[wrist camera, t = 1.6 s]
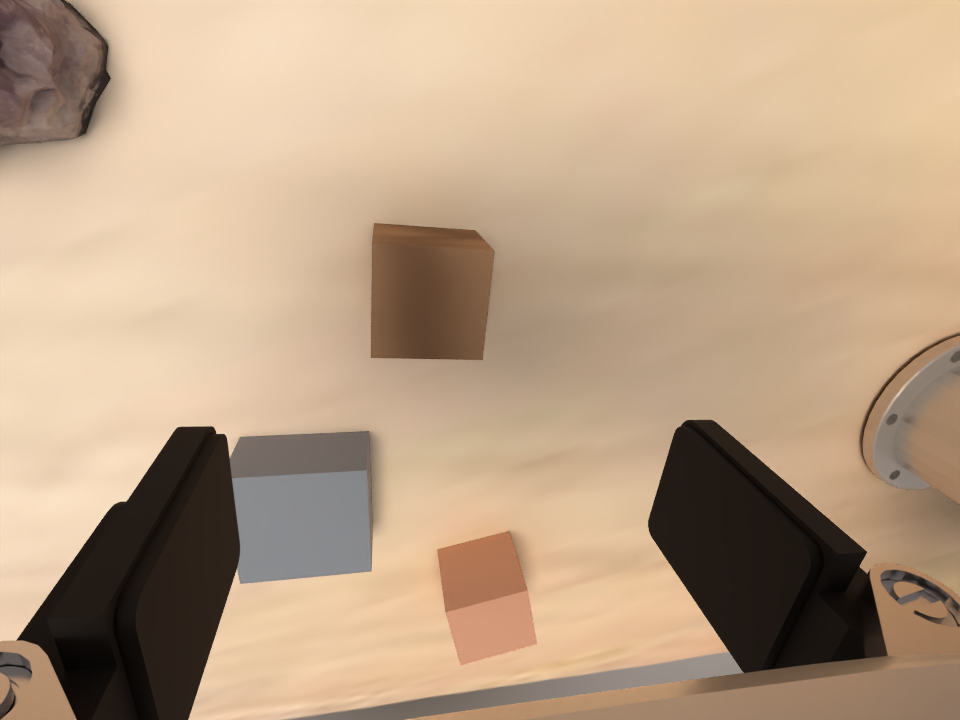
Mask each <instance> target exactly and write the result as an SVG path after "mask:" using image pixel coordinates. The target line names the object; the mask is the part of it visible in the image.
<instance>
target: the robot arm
mask: <svg viewBox="0 0 960 720" xmlns="http://www.w3.org/2000/svg"><path fill="white" fill-rule="evenodd" d="M863 455H864V458H865V461H866V464H867V466H868V467H869V469H870V470H871V471H872V472H873V474H875V475H876V476H877V477H879V478H880V479H882V480H883V481H884V482H886V483H887V484H889V485H892V486H894V487H896V488H901V489H906V490H915V489H925V488H930V487H933V488H935V489H936V490H938V491H940V492H941V493H943V494H944V495H946V496H947V497H949V498H950V499H952V500H954V501H955V502H957V503H958V504H960V336H957V337H954V338H951V339H948V340H946V341H944V342H942V343H940V344H938V345H936V346H934V347H932V348H930V349H929V350H927V351H926V352H924V353H923V354H921V355H920V356H918V357H917V358H916V359H914V360H913V361H912V362H911V363H910V364H908V365H907V366H906V367H905V368H904V369H903V370H902V371H900V372H899V373H898V375H897V376H896V377H895V378H894V379H893V380H892V381H891V382H890V383H889V385H888V386H887V387H886V388H885V390H884V391H883V393H882V394H881V396H880V397H879V398H878V400H877V401H876V403H875V405H874V407H873V409H872V411H871V413H870V415H869V418H868V421H867V424H866V427H865V430H864V436H863ZM648 527H649V532H650V535H651V537H652V538H653V540H654V541H655V543H656V544H657V546H658V547H659V549H660V550H661V552H662V553H663V555H664V556H665V558H666V559H667V560H668V562H669V563H670V565H671V566H672V568H673V569H674V571H675V572H676V574H677V575H678V577H679V578H680V580H681V581H682V583H683V584H684V586H685V587H686V589H687V590H688V591H689V593H690V594H691V596H692V597H693V599H694V600H695V602H696V603H697V605H698V606H699V608H700V609H701V611H702V612H703V614H704V615H705V617H706V618H707V620H708V621H709V623H710V624H711V625H712V627H713V628H714V630H715V631H716V633H717V634H718V636H719V637H720V639H721V640H722V642H723V643H724V645H725V646H726V648H727V649H728V651H729V652H730V654H731V655H732V656H733V658H734V659H735V661H736V662H737V664H738V665H739V667H740V668H741V670H742V671H743V672H744V673H741V674H733V675H726V676H718V677H710V678H702V679H695V680H687V681H680V682H672V683H665V684H657V685H650V686H644V687H636V688H628V689H621V690H613V691H606V692H598V693H591V694H584V695H576V696H569V697H562V698H555V699H547V700H540V701H533V702H525V703H518V704H511V705H504V706H497V707H490V708H483V709H476V710H469V711H462V712H455V713H448V714H440V715H433V716H427V717H419V718H413V719H405V720H960V596H958V595H957V594H956V593H955V592H953V591H952V590H950V589H949V588H948V587H946V586H945V585H944V584H942V583H940V582H939V581H937V580H935V579H933V578H932V577H930V576H928V575H926V574H924V573H921V572H919V571H917V570H915V569H912V568H909V567H906V566H902V565H899V564H892V563H880V564H875V565H874V566H873V567H872V568H871V569H870V571H869V572H868V574H867V573H866V572H865V571H863V570H862V569H861V568H860V567H859V566H860V564H861V562H862V560H863V559H864V557H865V555H866V553H867V551H865V550H864V549H863V548H862V547H861V546H860V545H858V544H857V543H856V542H855V541H854V540H853V539H851V538H850V537H849V536H848V535H847V534H846V533H844V532H843V531H842V530H841V529H840V528H839V527H837V526H836V525H835V524H834V523H833V522H832V521H830V520H829V519H828V518H827V517H826V516H825V515H823V514H822V513H821V512H820V511H819V510H818V509H816V508H815V507H814V506H813V505H812V504H811V503H809V502H808V501H807V500H806V499H805V498H804V497H802V496H801V495H800V494H799V493H798V492H797V491H795V490H794V489H793V488H792V487H791V486H790V485H788V484H787V483H786V482H785V481H784V480H783V479H781V478H780V477H779V476H778V475H777V474H776V473H775V472H773V471H772V470H771V469H770V468H769V467H768V466H766V465H765V464H764V463H763V462H762V461H761V460H759V459H758V458H757V457H756V456H755V455H754V454H752V453H751V452H750V451H749V450H748V449H747V448H745V447H744V446H743V445H742V444H741V443H740V442H738V441H737V440H736V439H735V438H734V437H733V436H731V435H730V434H729V433H728V432H727V431H726V430H724V429H723V428H722V427H721V426H720V425H719V424H717V423H716V422H714V421H713V420H687V421H685V422H684V423H683V424H682V425H681V427H678V428H677V429H676V431H675V433H674V436H673V439H672V443H671V446H670V449H669V453H668V456H667V460H666V463H665V466H664V470H663V473H662V476H661V480H660V483H659V486H658V490H657V493H656V497H655V500H654V503H653V507H652V510H651V513H650V517H649V521H648ZM239 557H240V539H239V531H238V523H237V515H236V507H235V499H234V491H233V483H232V475H231V467H230V459H229V450H228V442H227V438H226V435H225V434H216V431H215V429H214V427H212V426H210V427H178V428H177V429H176V430H175V431H174V432H173V434H172V435H171V437H170V438H169V440H168V441H167V443H166V444H165V446H164V447H163V449H162V450H161V452H160V453H159V455H158V456H157V458H156V459H155V461H154V462H153V464H152V465H151V466H150V468H149V469H148V471H147V472H146V474H145V475H144V477H143V478H142V480H141V481H140V483H139V484H138V486H137V487H136V489H135V490H134V492H133V493H132V495H131V496H130V497H129V499H128V500H127V502H119V503H117V504H114V505H113V506H112V507H111V509H110V510H109V511H108V512H107V513H106V515H105V516H104V518H103V519H102V520H101V522H100V523H99V525H98V526H97V527H96V529H95V530H94V532H93V533H92V535H91V536H90V537H89V539H88V540H87V542H86V543H85V544H84V546H83V547H82V549H81V550H80V551H79V553H78V554H77V556H76V557H75V559H74V560H73V561H72V563H71V564H70V566H69V567H68V568H67V570H66V571H65V573H64V574H63V575H62V577H61V578H60V580H59V581H58V583H57V584H56V585H55V587H54V588H53V590H52V591H51V592H50V594H49V595H48V597H47V598H46V599H45V601H44V602H43V604H42V605H41V606H40V608H39V609H38V611H37V612H36V614H35V615H34V616H33V618H32V619H31V621H30V622H29V623H28V625H27V626H26V628H25V629H24V630H23V632H22V633H21V635H20V636H19V638H18V639H17V640H16V641H1V642H0V720H188V719H189V716H190V713H191V710H192V706H193V703H194V700H195V697H196V694H197V691H198V688H199V685H200V682H201V678H202V675H203V672H204V669H205V666H206V663H207V660H208V657H209V653H210V650H211V647H212V644H213V641H214V638H215V635H216V632H217V629H218V625H219V622H220V619H221V616H222V613H223V610H224V607H225V604H226V601H227V597H228V594H229V591H230V588H231V585H232V582H233V579H234V576H235V573H236V569H237V566H238V563H239Z"/></svg>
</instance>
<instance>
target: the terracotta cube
mask: <svg viewBox="0 0 960 720" xmlns="http://www.w3.org/2000/svg"><path fill="white" fill-rule="evenodd" d="M438 558H439V565H440V573H441V581H442V589H443V597H444V604H445V612H446V616H447V619H448V623H449V626H450V630H451V633H452V637H453V640H454V644H455V647H456V651H457V654H458V658H459V661H460V665H464V664H467V663H471V662H474V661H478V660H482V659H485V658H489V657H492V656H496V655H499V654H503V653H507V652H510V651H514V650H517V649H521V648H524V647H528V646H532V645H535V644H537V641H536V635H535V630H534V624H533V618H532V612H531V606H530V601H529V595H528V590H527V586H526V583H525V580H524V577H523V574H522V571H521V567H520V564H519V561H518V558H517V555H516V552H515V548H514V545H513V542H512V539H511V536H510V532H509V531H508V532H504V533H500V534H496V535H492V536H488V537H484V538H480V539H476V540H473V541H469V542H465V543H461V544H457V545H453V546H449V547H445V548H441V549H438Z"/></svg>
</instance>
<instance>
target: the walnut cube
mask: <svg viewBox="0 0 960 720" xmlns="http://www.w3.org/2000/svg"><path fill="white" fill-rule="evenodd" d="M493 259H494V250H493V249H492V248H491V247H490V246H489V245H488V244H487V243H486V242H485V240H484V239H483V238H482V237H481V236H480V235H479V234H478V233H477V232H476V231H475V230H462V229H448V228H434V227H420V226H406V225H392V224H378V223H374V231H373V241H372V310H371V358H411V359H464V360H483V351H484V341H485V332H486V323H487V314H488V305H489V295H490V286H491V277H492V268H493Z"/></svg>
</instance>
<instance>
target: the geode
mask: <svg viewBox="0 0 960 720" xmlns="http://www.w3.org/2000/svg"><path fill="white" fill-rule="evenodd" d="M107 52H108V46H107V45H106V43H105V41H104V40H103V39H102V37H101V36H100V34H99V33H98V32H97V30H96V29H95V28H94V27H93V26H92V25H91V24H90V23H89V22H88V21H87V20H86V19H85V18H84V17H83V16H82V15H81V14H80V13H79V12H78V11H77V10H76V9H75V8H74V7H73V6H72V5H71V4H69V3H68V2H66V1H65V0H0V145H4V144H21V143H41V142H49V141H58V140H66V139H72V138H76V137H78V136H81V135H83V134H85V133H86V131H87V128H88V125H89V122H90V118H91V115H92V112H93V109H94V107H95V104H96V102H97V100H98V98H99V97H100V95H101V94H102V92H103V90H104V89H105V87H106V85H107V84H108V82H109V81H110V79H111V78H110V76H109V74H108V73H107V71H106V70H105V68H106V60H107Z"/></svg>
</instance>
